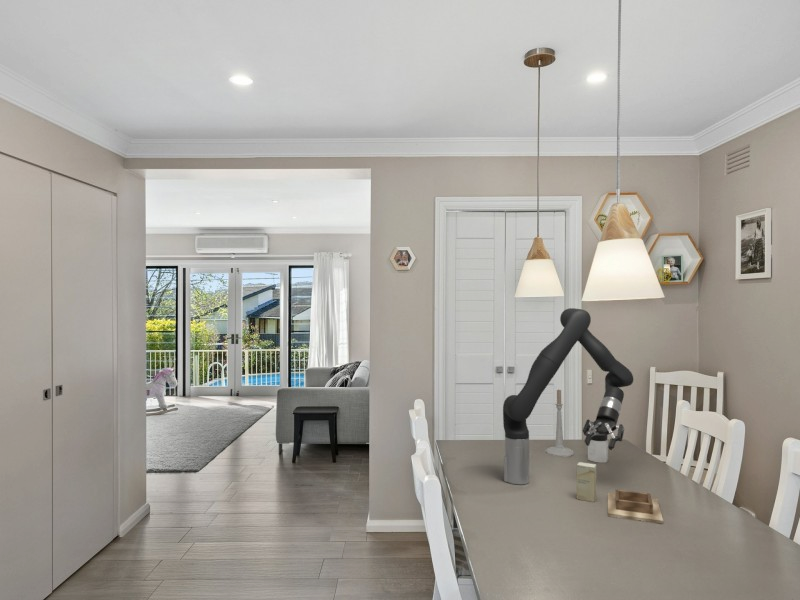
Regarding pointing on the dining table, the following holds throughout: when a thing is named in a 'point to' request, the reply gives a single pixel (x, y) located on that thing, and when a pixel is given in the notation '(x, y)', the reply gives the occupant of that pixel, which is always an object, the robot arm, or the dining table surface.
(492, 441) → the dining table surface
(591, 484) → the skincare box
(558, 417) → the candlestick
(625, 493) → the carrier plate
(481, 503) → the dining table surface
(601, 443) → the jar
